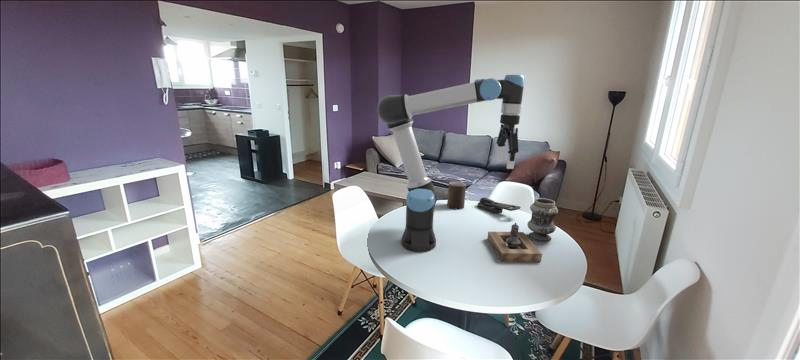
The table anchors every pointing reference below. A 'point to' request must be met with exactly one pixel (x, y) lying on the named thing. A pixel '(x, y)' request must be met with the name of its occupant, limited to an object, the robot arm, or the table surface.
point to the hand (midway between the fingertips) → (504, 164)
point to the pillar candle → (456, 195)
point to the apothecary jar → (542, 219)
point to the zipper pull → (495, 206)
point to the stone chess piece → (513, 238)
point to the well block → (524, 252)
